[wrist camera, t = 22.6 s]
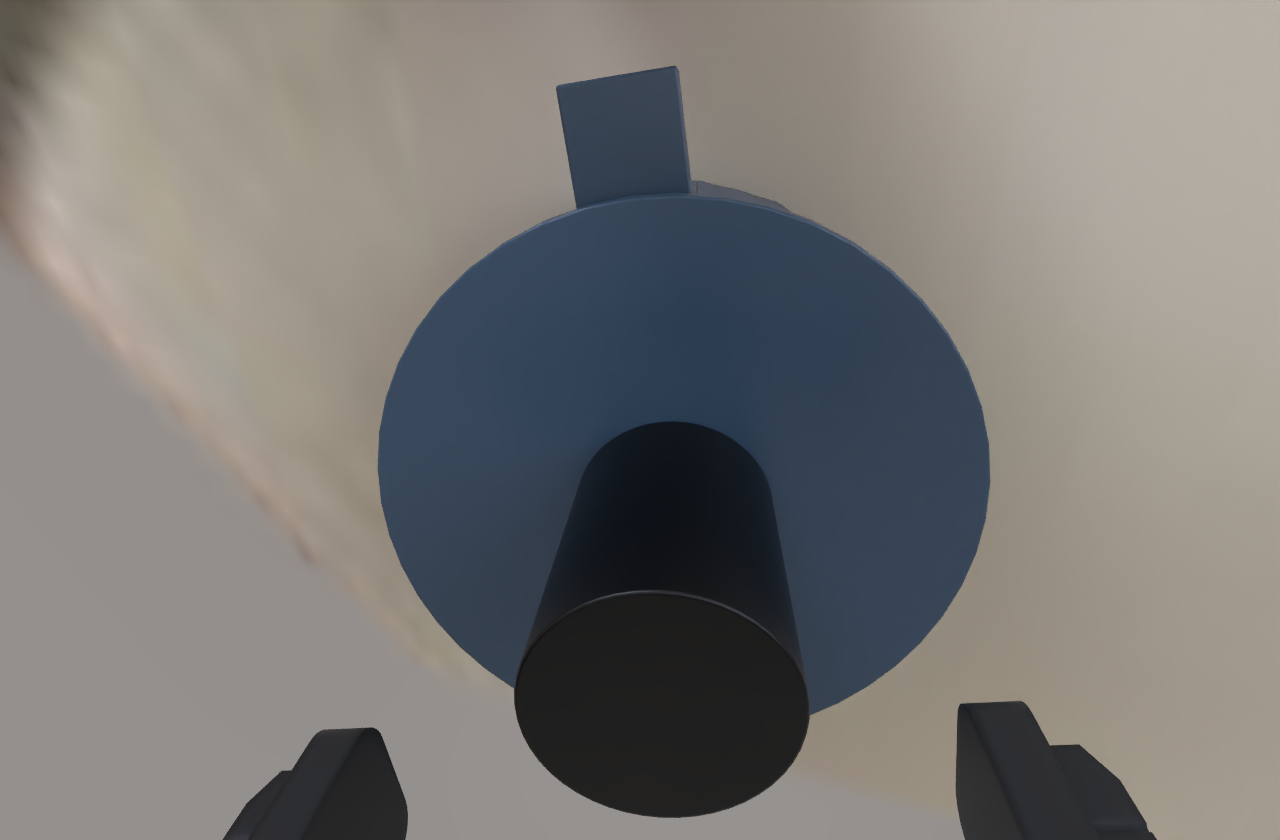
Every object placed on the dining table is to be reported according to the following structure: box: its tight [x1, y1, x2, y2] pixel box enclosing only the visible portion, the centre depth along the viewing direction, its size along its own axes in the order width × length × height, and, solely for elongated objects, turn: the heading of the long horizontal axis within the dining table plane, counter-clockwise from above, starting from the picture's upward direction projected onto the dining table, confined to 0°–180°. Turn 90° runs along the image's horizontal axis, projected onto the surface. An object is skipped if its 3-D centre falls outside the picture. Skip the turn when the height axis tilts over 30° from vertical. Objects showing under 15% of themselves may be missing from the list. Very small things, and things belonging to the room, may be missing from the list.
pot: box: [556, 66, 791, 213], centre depth 21 cm, size 13×18×8 cm
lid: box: [378, 193, 990, 818], centre depth 14 cm, size 14×14×7 cm
